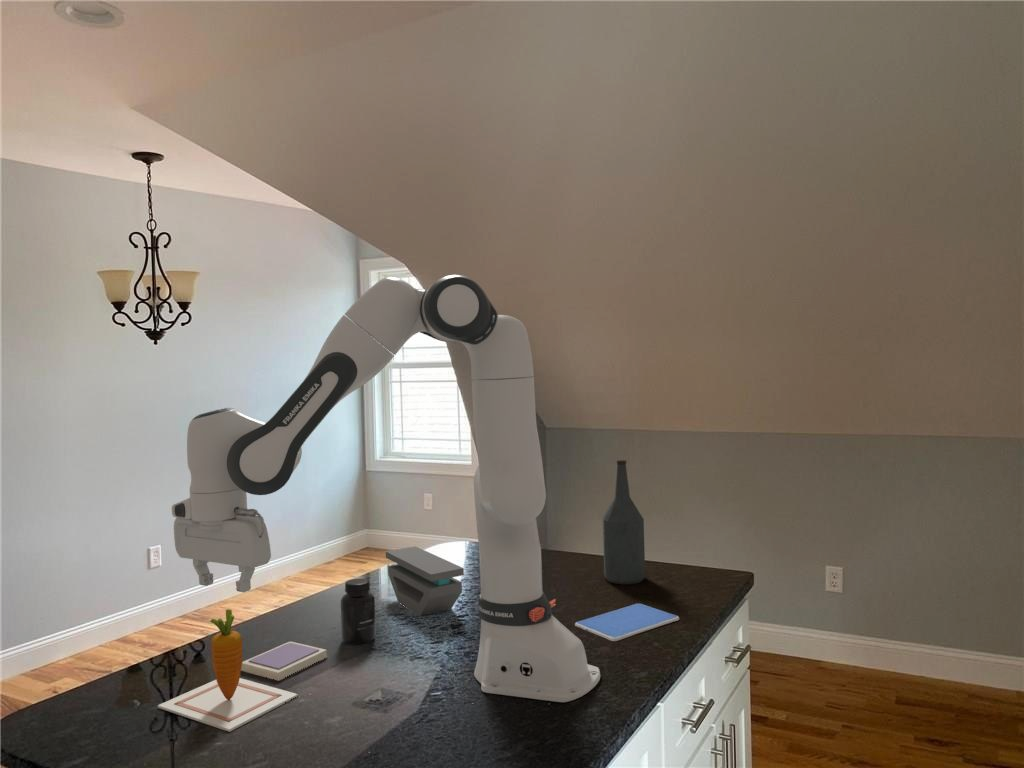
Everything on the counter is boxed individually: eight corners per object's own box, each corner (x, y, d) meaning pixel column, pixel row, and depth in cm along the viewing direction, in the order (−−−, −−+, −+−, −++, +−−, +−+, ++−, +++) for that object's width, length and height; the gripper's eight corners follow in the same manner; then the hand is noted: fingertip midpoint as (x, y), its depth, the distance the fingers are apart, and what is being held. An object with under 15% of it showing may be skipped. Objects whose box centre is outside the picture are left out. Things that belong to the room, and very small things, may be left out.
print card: (297, 696, 132) (297, 693, 132) (229, 731, 120) (229, 728, 120) (227, 676, 141) (227, 673, 141) (157, 707, 129) (157, 704, 129)
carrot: (226, 708, 127) (222, 618, 126) (206, 702, 129) (203, 613, 129) (250, 697, 131) (247, 609, 130) (231, 691, 134) (228, 605, 133)
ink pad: (327, 657, 149) (326, 648, 149) (278, 680, 138) (278, 671, 138) (290, 648, 154) (290, 640, 154) (241, 670, 144) (240, 661, 143)
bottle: (647, 584, 189) (644, 462, 188) (607, 585, 189) (603, 463, 188) (641, 572, 199) (637, 456, 198) (602, 573, 199) (599, 457, 198)
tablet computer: (614, 644, 152) (613, 638, 152) (572, 627, 162) (572, 621, 162) (681, 622, 163) (681, 616, 163) (638, 607, 173) (638, 601, 173)
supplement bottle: (368, 646, 154) (365, 586, 153) (336, 645, 155) (333, 585, 155) (380, 634, 160) (378, 577, 160) (350, 633, 162) (347, 576, 161)
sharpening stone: (465, 617, 169) (463, 568, 169) (432, 624, 165) (431, 574, 165) (417, 590, 191) (415, 546, 190) (387, 596, 186) (385, 551, 186)
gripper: (277, 505, 126) (282, 589, 127) (196, 499, 137) (202, 576, 138) (245, 513, 121) (251, 601, 122) (164, 506, 132) (170, 586, 132)
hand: (224, 587), depth 130 cm, fingers open, 8 cm apart
